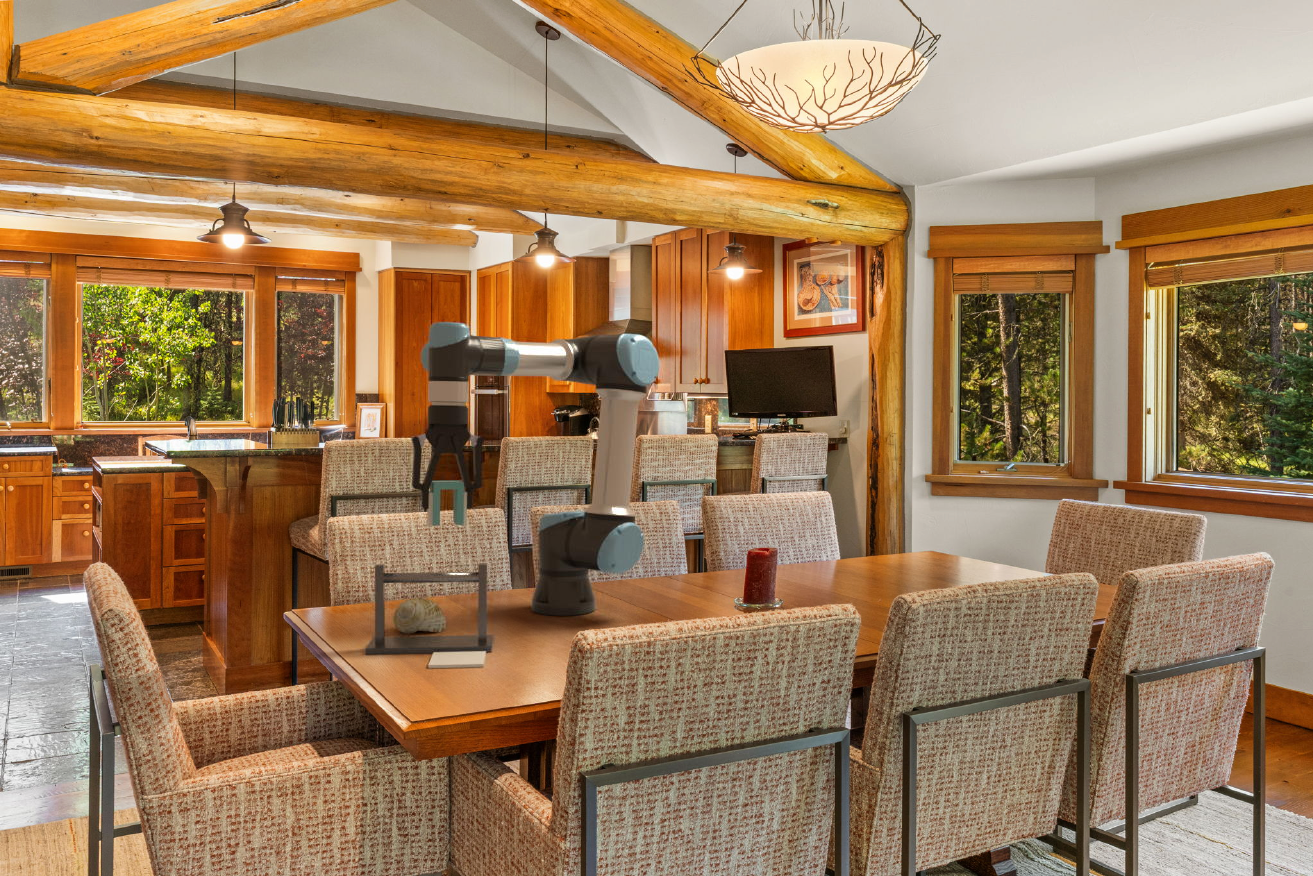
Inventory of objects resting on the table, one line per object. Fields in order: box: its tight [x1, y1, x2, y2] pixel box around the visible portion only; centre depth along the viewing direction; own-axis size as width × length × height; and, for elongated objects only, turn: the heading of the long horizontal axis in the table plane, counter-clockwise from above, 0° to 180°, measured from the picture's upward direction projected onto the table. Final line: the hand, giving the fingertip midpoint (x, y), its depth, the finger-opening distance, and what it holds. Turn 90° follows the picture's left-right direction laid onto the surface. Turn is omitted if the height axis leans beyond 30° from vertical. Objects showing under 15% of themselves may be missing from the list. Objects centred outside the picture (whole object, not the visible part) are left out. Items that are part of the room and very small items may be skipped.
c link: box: [430, 480, 465, 527], centre depth 186 cm, size 5×6×8 cm
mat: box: [427, 651, 487, 669], centre depth 184 cm, size 10×9×1 cm
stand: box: [364, 562, 495, 656], centre depth 193 cm, size 24×9×17 cm, turn 97°
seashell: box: [392, 596, 447, 635], centre depth 207 cm, size 10×10×10 cm
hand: (446, 525), depth 186 cm, fingers closed on c link, 6 cm apart
